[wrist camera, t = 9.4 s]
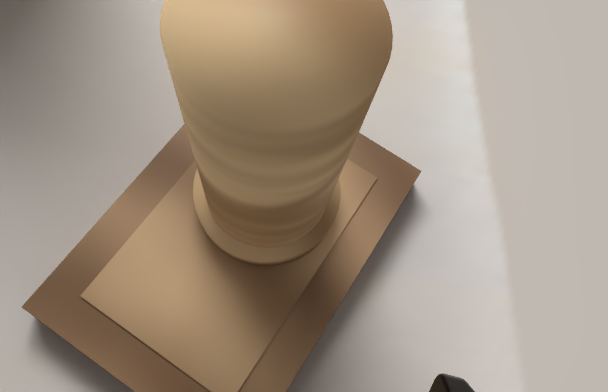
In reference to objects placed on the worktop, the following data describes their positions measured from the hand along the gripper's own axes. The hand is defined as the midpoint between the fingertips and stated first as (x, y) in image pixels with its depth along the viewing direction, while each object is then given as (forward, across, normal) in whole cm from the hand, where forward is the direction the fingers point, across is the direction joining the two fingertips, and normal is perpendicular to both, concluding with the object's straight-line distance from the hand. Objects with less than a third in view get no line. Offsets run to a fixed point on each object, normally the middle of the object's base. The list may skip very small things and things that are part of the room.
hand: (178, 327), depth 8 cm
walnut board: (+11, +1, +5) cm, 12 cm away
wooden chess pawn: (+12, 0, +3) cm, 12 cm away
